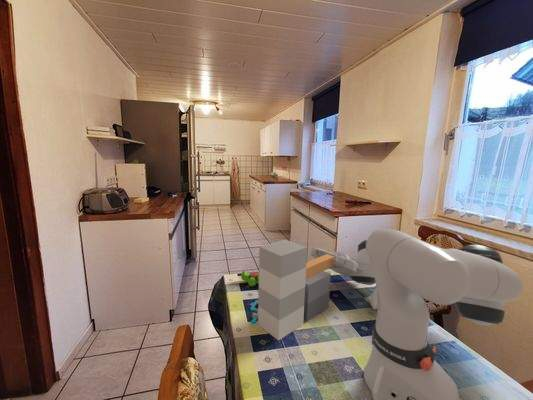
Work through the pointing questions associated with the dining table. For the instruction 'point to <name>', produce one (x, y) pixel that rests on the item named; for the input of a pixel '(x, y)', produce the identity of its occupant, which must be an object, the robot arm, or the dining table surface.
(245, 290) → the dining table surface
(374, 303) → the bust
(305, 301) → the grey box
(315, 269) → the orange block
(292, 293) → the tall tower
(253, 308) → the gear mechanism
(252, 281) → the toy crocodile
